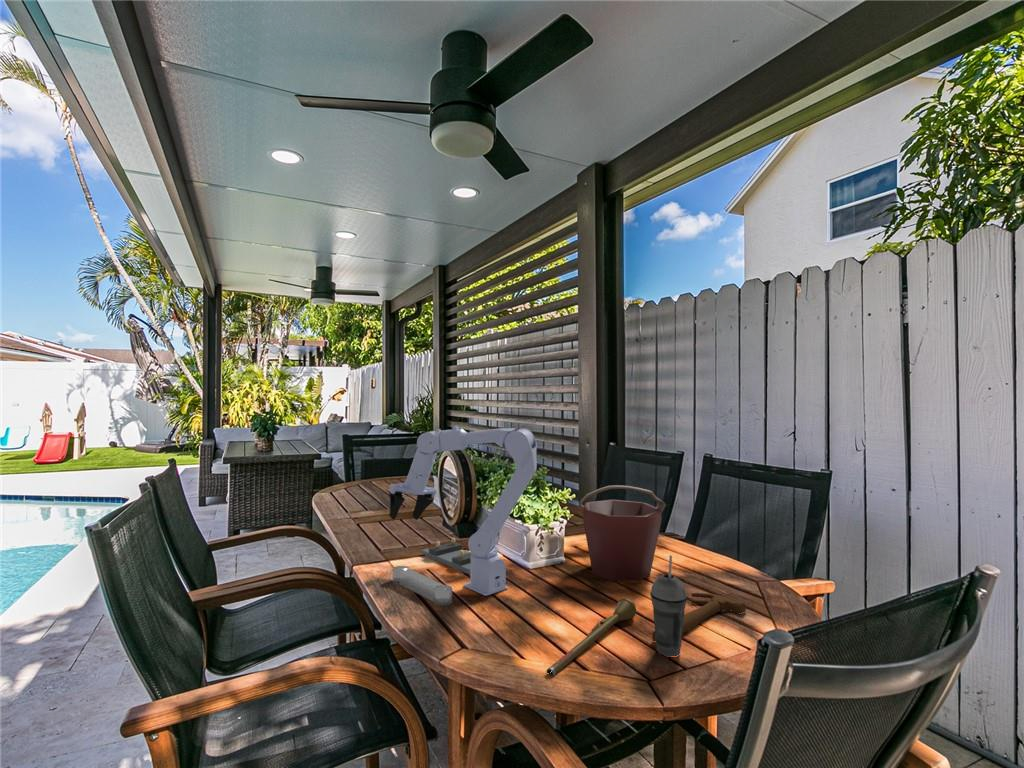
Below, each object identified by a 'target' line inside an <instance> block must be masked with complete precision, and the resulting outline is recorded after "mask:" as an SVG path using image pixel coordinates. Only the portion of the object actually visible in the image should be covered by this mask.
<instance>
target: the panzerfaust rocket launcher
mask: <svg viewBox="0 0 1024 768" xmlns="http://www.w3.org/2000/svg"><path fill="white" fill-rule="evenodd" d="M636 613H637V607H636V604H635V602H634V601H633V600H631V599H629V598H625V597H624V598H621V599H619V600H618V601H617V603H616V606H615V609H614V612H613V613H612V615H611V616H609V617H606V618H605V619H602V620H600V621H598V622H597V624H595V625H594V627H593V628H591V630H590V631H589V633H588V634H587V635H586V637H585V638H584V639H582V640H581V641H580V642H579V643H578V644H575V646H574V647H573V648H571V649H570V650H569V651H567V653H566V654H564V655H563V656H561V657H560V658H559V659H558V660H557V661H556V662H554V664H552V665H551V666H550V667H548V668H547V669H546V674H547V673H550V672H551V671H552V673H551V674H552V675H553V677H554V676H556V674H558V673H559V672H560V671H561V670H562V669H563V668H565V667H566V665H568V664H569V663H570V662H572V660H574V659H575V658H576V657H577V656H578V655H580V654H582V652H583V651H585V649H587V648H588V647H589V646H590V645H592V644H593V643H594V642H595V641H596V640H597V639H598V638H600V637H601V636H602V635H603V634H605V632H606V631H608V630H609V629H610V628H611V627H612V626H613V625H615V624H616V623H617V622H621V621H627V620H632V619H634V617H635V616H636ZM558 671H559V672H558Z"/></svg>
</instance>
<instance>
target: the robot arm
mask: <svg viewBox="0 0 1024 768" xmlns="http://www.w3.org/2000/svg"><path fill="white" fill-rule="evenodd" d="M416 440H417V441H416V446H417V448H416V451H415V454H414V457H413V460H412V463H411V466H410V469H409V471H408V474H407V476H406V479H405V481H404V482H403V483H402V482H401V483H395V484H394V483H391V484H390V485H389V489H388V496H389V502H390V503H389V506H390V507H389V517H390V518H391V519H392V520H396V518H397V516H398V512H399V510H400V508H401V507H402V505H403V503H404V502H405V501H406V498H404V496H403V494H406V495H407V494H408V495H417V496H416V501H415V502H416V503H415V505H414V509H413V511H412V518H414V519H415V520H416V521H418V520H419V519H420V516H422V514H423V513H424V511H426V509H427V508H428V507H429V506H430V505H431V504H432V503H434V500H435V499H434V498H435V497H436V495H437V492H438V490H437V489H436V488H435V487H430V486H427V484H428V481H429V478H430V477H431V474H432V470H433V467H434V464H435V462H436V458H437V456H438V453H439V451H440V452H451V451H459V450H460V451H462V450H465V449H466V448H467V447H468V445H473V444H474V445H475V444H477V445H478V444H489V443H490V444H492V443H494V444H496V445H498V446H499V447H501V448H505V449H506V451H507V453H508V454H509V456H510V457H511V458H512V459H513V463H514V465H515V470H514V472H513V474H512V476H511V477H510V479H509V481H508V482H507V484H506V486H505V487H504V490H502V492H501V494H500V496H499V498H498V499H497V500H496V502H495V504H494V506H493V508H492V509H491V510H490V512H489V514H488V516H487V518H486V519H485V520H484V522H483V523H482V525H481V526H479V529H478V530H477V531H476V532H474V533H473V534H472V535H471V536H470V537H469V539H468V543H467V547H468V550H469V552H471V574H469V575H470V578H469V579H470V581H469V582H466V583H464V584H463V587H465V588H467V589H469V590H471V591H474V592H476V593H478V594H479V595H483V596H485V597H486V596H490V595H493V594H495V593H499V592H502V591H505V590H507V589H508V588H509V587H508V585H506V583H507V582H506V581H507V579H506V578H507V577H506V576H507V567H506V566H507V565H506V563H505V561H504V560H503V559H502V558H501V557H500V556H499V554H498V549H497V547H496V545H497V544H498V543H499V541H500V535H501V531H502V530H503V529H504V528H503V527H504V524H505V523H506V522H507V520H508V518H509V517H510V515H511V513H512V511H513V510H514V508H515V506H516V505H517V503H518V501H519V500H520V499H521V496H522V495H523V493H524V491H525V490H526V488H527V486H528V485H529V483H530V482H531V480H532V479H533V477H534V475H535V474H536V471H537V470H538V469H537V466H538V465H537V464H538V463H537V459H538V458H537V447H538V442H537V440H536V439H535V436H534V434H533V432H532V431H531V430H530V429H528V428H523V427H522V428H519V429H516V427H515V428H511V427H510V428H509V427H507V428H506V427H505V428H504V427H503V428H502V427H499V428H494V429H486V430H485V429H484V430H479V431H478V430H477V431H471V432H467V431H466V430H464V429H463V428H459V426H454V427H453V426H452V428H451V429H445V430H444V429H443V430H441V428H439V429H438V428H437V429H435V430H431V431H426V432H424V433H421V434H420V435H419V436H418V437H417V439H416Z"/></svg>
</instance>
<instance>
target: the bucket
mask: <svg viewBox="0 0 1024 768" xmlns="http://www.w3.org/2000/svg"><path fill="white" fill-rule="evenodd" d="M608 490H609V491H610V490H631V491H636V492H640V493H643V494H646V495H650V498H651V499H652V500H653V501H654V502H655V503H657V504H656V506H654V505H651V504H649V503H646V502H641V501H633V500H632V501H631V500H620V499H606V500H605V499H604V500H596V501H587V499H588V498H591V497H593V496H596V495H597V494H599V493H603V492H606V491H608ZM586 501H587V502H586ZM584 502H585V503H584ZM583 503H584V505H583ZM666 506H667V504H666V503H665V502H664V500H662V499H660V498H658V497H657V496H656V495H655V494H654V492H653V491H652V490H649V489H645V488H641V487H637V486H631V485H621V484H620V485H617V484H615V485H607V486H604V487H600V488H598V489H595V490H593V491H591V492H588V493H587V494H585V496H583V498H581V500H579V503H578V507H579V508H580V509H581V510H582V513H583V514H582V522H583V528H584V532H585V533H584V534H585V537H586V538H585V539H586V544H587V550H588V554H589V555H588V556H589V561H590V567H591V572H592V574H593V575H595V576H598V577H600V578H603V579H606V580H609V581H612V582H640V581H642V580H643V579H645V578H646V577H648V576H649V575H651V571H652V568H653V564H654V558H655V557H654V556H655V553H656V549H657V543H658V540H659V535H660V528H661V526H662V525H661V524H662V519H663V518H662V515H663V514H662V513H663V512H664V511H665V508H666Z"/></svg>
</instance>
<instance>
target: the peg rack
mask: <svg viewBox="0 0 1024 768" xmlns="http://www.w3.org/2000/svg"><path fill="white" fill-rule="evenodd" d="M450 540H451V541H450V543H449V542H448V543H445V544H441V541H438V540H437V541H436V542H435V546H432V547H429V548H425V549H421V555H422V554H423V555H425V556H424V557H426V556H427V557H426V558H428V557H429V558H428V559H430V558H431V560H433V559H434V560H433V561H435V560H436V562H438V563H440V562H441V563H440V564H442V563H443V565H446V566H448V567H450V568H452V569H455V570H456V571H460V572H462V573H465V574H467V575H470V574H471V552H470V551H467V550H464V549H463V544H461V543H459V542H456V538H455V537H451V539H450ZM423 555H422V556H423Z"/></svg>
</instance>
